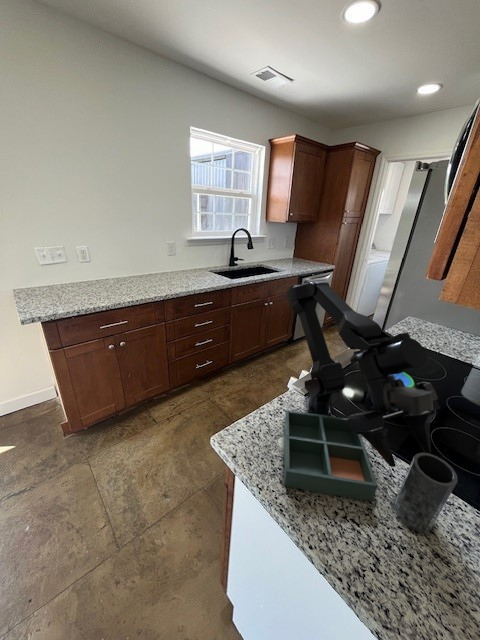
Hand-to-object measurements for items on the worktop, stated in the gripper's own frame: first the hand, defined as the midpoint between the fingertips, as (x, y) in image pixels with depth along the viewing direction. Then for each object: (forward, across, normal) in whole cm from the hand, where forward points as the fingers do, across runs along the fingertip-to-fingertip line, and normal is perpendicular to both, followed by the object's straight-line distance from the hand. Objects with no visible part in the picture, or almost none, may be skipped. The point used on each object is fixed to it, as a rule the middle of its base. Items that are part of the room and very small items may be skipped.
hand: (411, 459), depth 50 cm
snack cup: (-8, +20, +23) cm, 31 cm away
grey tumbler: (+10, 0, +5) cm, 11 cm away
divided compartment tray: (-2, -9, +16) cm, 19 cm away
